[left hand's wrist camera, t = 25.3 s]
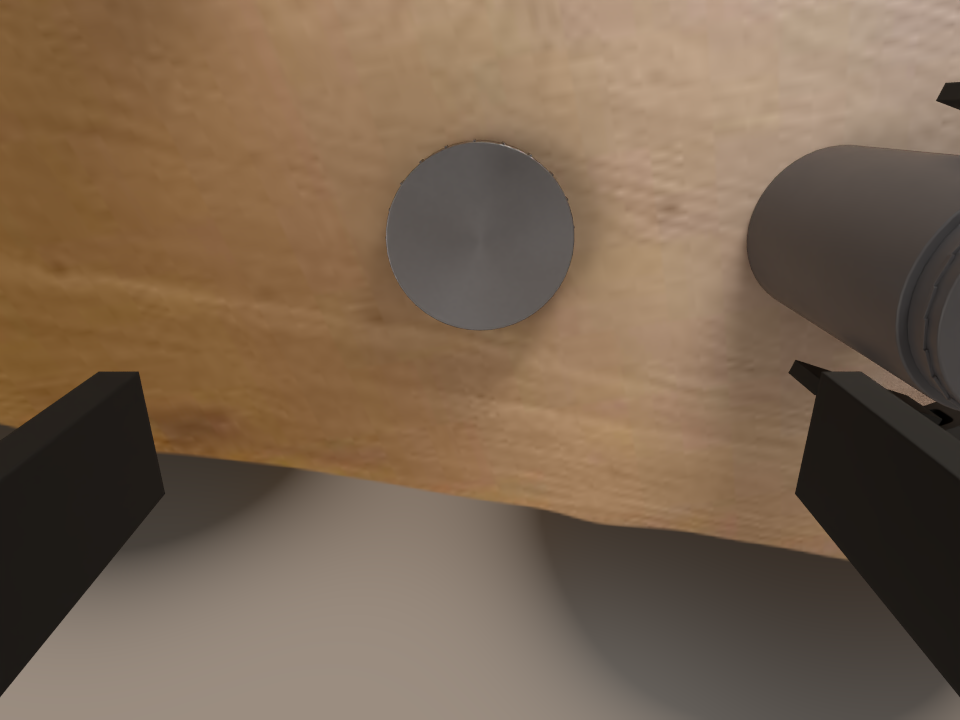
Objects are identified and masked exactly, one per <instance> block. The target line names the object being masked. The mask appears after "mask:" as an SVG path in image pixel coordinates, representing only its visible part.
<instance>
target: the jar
mask: <svg viewBox="0 0 960 720" xmlns="http://www.w3.org/2000/svg"><path fill="white" fill-rule="evenodd" d="M747 252H748V259H749V262H750V266H751V269H752V271H753V273H754V276H755V278H756V279H757V281H758V282H759V284H760V285H761V286H762V288H763V289H764V290H765V291H766V292H767V293H768V294H769V295H771V296H772V297H773V298H774V299H776V300H778V301H779V302H781V303H782V304H784V305H785V306H787V307H789V308H790V309H792V310H793V311H795V312H796V313H798V314H799V315H801V316H803V317H804V318H806V319H807V320H809V321H810V322H812V323H814V324H815V325H817V326H818V327H820V328H821V329H823V330H825V331H826V332H828V333H829V334H831V335H832V336H834V337H835V338H837V339H839V340H840V341H842V342H843V343H845V344H846V345H848V346H850V347H851V348H853V349H854V350H856V351H857V352H859V353H860V354H862V355H864V356H865V357H867V358H868V359H870V360H871V361H873V362H875V363H876V364H878V365H879V366H881V367H882V368H884V369H886V370H887V371H889V372H890V373H892V374H893V375H895V376H896V377H898V378H900V379H901V380H903V381H904V382H906V383H907V384H909V385H911V386H912V387H914V388H915V389H917V390H918V391H920V392H922V393H923V394H925V395H926V396H928V397H929V398H931V399H933V400H934V401H936V402H938V403H940V404H941V405H944V406H946V407H949V408H952V409H954V410H958V411H960V155H950V154H940V153H929V152H918V151H908V150H897V149H886V148H876V147H865V146H854V145H839V146H833V147H827V148H824V149H820V150H817V151H815V152H812V153H810V154H808V155H805V156H804V157H802V158H800V159H798V160H797V161H795V162H793V163H792V164H791V165H789V166H788V167H787V168H785V169H784V170H783V171H782V172H781V173H780V174H779V175H778V176H777V177H776V178H775V179H774V180H773V181H772V182H771V183H770V184H769V186H768V187H767V188H766V190H765V191H764V193H763V194H762V196H761V197H760V199H759V201H758V203H757V205H756V207H755V209H754V212H753V214H752V217H751V221H750V224H749V229H748V236H747Z"/></svg>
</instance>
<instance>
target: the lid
mask: <svg viewBox="0 0 960 720" xmlns="http://www.w3.org/2000/svg"><path fill="white" fill-rule="evenodd" d="M531 156H532V155H531V154H530V153H528V154H527V153H525V152H523V151H521V150H519V149H517V148H515V147H512V146H509V145H507V144H505V143H504V142H502V143H499V142H494V141H483V140H477V141H476V139H474V140H473V141H466V142H461V143H457V144H454V145H451V146H448V145H446V146H445V148H443V149H441V150H439V151H437V152H435V153H433V154H432V155H431V156H429V157H428V158H426V159H425V160H424V159H422V160H421V161H420V164H419V165H418V166H417V167H416V168H415V169H414V170H413V171H412V172H411V173H410V174H409V175H408V176H407V178H406V179H405V180H403V181H402V182H401V183H400V184H401V186H400V188H399V189H398V191H397V193H396V195H395V197H394V200H393V202H392V204H391V207H390V208H389V215H388V220H387V227H386V245H387V253H388V257H389V261H390V265H391V268H392V270H393V273H394V275H395V277H396V279H397V281H398V283H399V285H400V286H401V288H402V289H403V291H404V292H405V293H406V295H407V296H408V297H409V298H410V299H411V300H412V301H413V302H414V304H415V305H416V306H418V307H419V308H420V309H421V310H423V311H424V312H425V313H427V314H428V315H430V316H431V317H433V318H434V319H436V320H439V321H441V322H443V323H445V324H448V325H451V326H454V327H457V328H462V329H468V330H492V329H498V328H503V327H506V326H509V325H512V324H515V323H517V322H520V321H522V320H524V319H526V318H527V317H529V316H531V315H532V314H534V313H535V312H536V311H538V310H539V309H540V308H541V307H543V306H544V305H545V304H546V303H547V302H548V301H549V300H550V299H551V297H552V296H553V295H554V294H555V292H556V291H557V290H558V288H559V287H560V285H561V283H562V281H563V280H564V278H565V276H566V273H567V271H568V268H569V266H570V262H571V258H572V255H573V247H574V225H573V218H572V214H571V210H570V207H569V204H568V198H567V197H566V196H565V195H564V192H563V191H562V189H561V187H560V186H559V184H558V182H557V181H556V180H555V179H554V177H553V174H552V173H551V172H549V171H548V170H546V169H545V168H544V167H543V166H542V165H541V164H540V163H539V162H538V161H537V160H535V159H534V158H532V157H531Z"/></svg>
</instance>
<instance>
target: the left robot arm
mask: <svg viewBox="0 0 960 720" xmlns="http://www.w3.org/2000/svg"><path fill="white" fill-rule="evenodd" d="M164 494H165V492H164V487H163V482H162V478H161V473H160V468H159V464H158V459H157V454H156V450H155V445H154V441H153V436H152V431H151V427H150V422H149V417H148V413H147V408H146V404H145V399H144V394H143V390H142V385H141V380H140V376H139V372H98V373H96V374H95V375H93V376H92V377H90V378H89V379H88V380H86V381H85V382H83V383H82V384H80V385H79V386H78V387H76V388H75V389H73V390H72V391H70V392H69V393H68V394H66V395H65V396H63V397H62V398H60V399H59V400H58V401H56V402H55V403H53V404H52V405H50V406H49V407H48V408H46V409H45V410H43V411H42V412H40V413H39V414H38V415H36V416H35V417H33V418H32V419H30V420H29V421H28V422H26V423H25V424H23V425H22V426H20V427H19V428H18V429H16V430H15V431H13V432H12V433H10V434H9V435H8V436H6V437H5V438H3V439H2V440H0V697H1V695H2V694H3V693H4V692H5V690H6V689H7V688H8V687H9V685H10V684H11V683H12V682H13V681H14V679H15V678H16V677H17V676H18V674H19V673H20V672H21V671H22V669H23V668H24V667H25V666H26V664H27V663H28V662H29V661H30V660H31V658H32V657H33V656H34V655H35V653H36V652H37V651H38V650H39V648H40V647H41V646H42V645H43V643H44V642H45V641H46V640H47V639H48V637H49V636H50V635H51V634H52V632H53V631H54V630H55V629H56V627H57V626H58V625H59V624H60V623H61V621H62V620H63V619H64V618H65V616H66V615H67V614H68V613H69V611H70V610H71V609H72V608H73V606H74V605H75V604H76V603H77V602H78V600H79V599H80V598H81V597H82V595H83V594H84V593H85V592H86V590H87V589H88V588H89V587H90V586H91V584H92V583H93V582H94V581H95V579H96V578H97V577H98V576H99V574H100V573H101V572H102V571H103V569H104V568H105V567H106V566H107V565H108V563H109V562H110V561H111V560H112V558H113V557H114V556H115V555H116V553H117V552H118V551H119V550H120V549H121V547H122V546H123V545H124V544H125V542H126V541H127V540H128V539H129V537H130V536H131V535H132V534H133V532H134V531H135V530H136V529H137V528H138V526H139V525H140V524H141V523H142V521H143V520H144V519H145V518H146V516H147V515H148V514H149V513H150V512H151V510H152V509H153V508H154V507H155V505H156V504H157V503H158V502H159V500H160V499H161V498H162V497H163V495H164ZM795 494H796V495H797V497H798V498H799V499H800V500H801V502H802V503H803V504H804V505H805V507H806V508H807V509H808V510H809V512H810V513H811V514H812V515H813V516H814V518H815V519H816V520H817V521H818V523H819V524H820V525H821V526H822V528H823V529H824V530H825V531H826V532H827V534H828V535H829V536H830V537H831V539H832V540H833V541H834V542H835V544H836V545H837V546H838V547H839V549H840V550H841V551H842V552H843V553H844V555H845V556H846V557H847V558H848V560H849V561H850V562H851V563H852V565H853V566H854V567H855V568H856V569H857V571H858V572H859V573H860V574H861V576H862V577H863V578H864V579H865V581H866V582H867V583H868V584H869V585H870V587H871V588H872V589H873V590H874V592H875V593H876V594H877V595H878V597H879V598H880V599H881V600H882V602H883V603H884V604H885V605H886V606H887V608H888V609H889V610H890V611H891V613H892V614H893V615H894V616H895V618H896V619H897V620H898V621H899V622H900V624H901V625H902V626H903V627H904V629H905V630H906V631H907V632H908V634H909V635H910V636H911V637H912V638H913V640H914V641H915V642H916V643H917V645H918V646H919V647H920V648H921V650H922V651H923V652H924V653H925V655H926V656H927V657H928V658H929V660H930V661H931V662H932V663H933V664H934V666H935V667H936V668H937V669H938V671H939V672H940V673H941V674H942V675H943V677H944V678H945V679H946V681H947V682H948V683H949V684H950V685H951V687H952V688H953V689H954V690H955V692H956V693H957V694H958V695H959V697H960V440H958V439H957V438H955V437H954V436H952V435H951V434H950V433H948V432H947V431H945V430H944V429H942V428H941V427H940V426H938V425H937V424H935V423H934V422H932V421H931V420H930V419H928V418H927V417H925V416H924V415H922V414H921V413H920V412H918V411H917V410H915V409H914V408H912V407H911V406H910V405H908V404H907V403H905V402H904V401H902V400H901V399H900V398H898V397H897V396H895V395H894V394H892V393H891V392H890V391H888V390H887V389H885V388H884V387H882V386H881V385H880V384H878V383H877V382H875V381H874V380H872V379H871V378H870V377H868V376H867V375H865V374H864V373H862V372H821V376H820V380H819V385H818V390H817V394H816V399H815V404H814V408H813V413H812V417H811V422H810V427H809V431H808V436H807V441H806V445H805V450H804V454H803V459H802V464H801V468H800V473H799V478H798V482H797V487H796V491H795Z"/></svg>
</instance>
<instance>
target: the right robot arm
mask: <svg viewBox="0 0 960 720" xmlns="http://www.w3.org/2000/svg"><path fill="white" fill-rule="evenodd" d="M936 101H938V102H941V103H943V104H946V105H949V106H951V107H954V108H956V109H959V110H960V82H954V83H945V85H944V87H943V89H942V91H941V93H940V94H939V96H938V98H937V100H936ZM821 372H832V371H829V370H826V369H822V368H819V367H816V366H813V365H810V364H807V363H804V362H801V361H797V360H795V362H794V364H793V366H792V367H791V369H790V371H789V374H791V375H792V376H793V377H794V378H795V379H796V380H798V381H799V382H800V383H801V384H802V385H803V386H805V387H806V388H807V389H808V390H809V391H811V392H812V393H813V394H814V395H816V394H817V390H818V385H819V380H820V376H821ZM887 390H888V389H887ZM888 391H890V392H891V393H892V394H894V395H895V396H897V397H898V398H900V399H901V400H902V401H904V402H905V403H907V404H908V405H910V406H911V407H912V408H914V409H915V410H917V411H918V412H920V413H921V414H922V415H924V416H925V417H927V418H928V419H930V420H931V421H932V422H934V423H935V424H937V425H938V426H940V427H941V428H942V429H944V430H945V431H947V432H948V433H950V434H951V435H952V436H954V437H955V438H957V439H958V440H960V411H958V410H954V409H952V408H949V407H946V406H944V405H941V404H940V403H938V402H934V403H931V404H928V405H925V406H922V405H920V404H919V403H917V402H916V401H914V400H913V399H911V398H910V397H908V396H907V395H904V394H900V393H897V392H894V391H891V390H888Z"/></svg>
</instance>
